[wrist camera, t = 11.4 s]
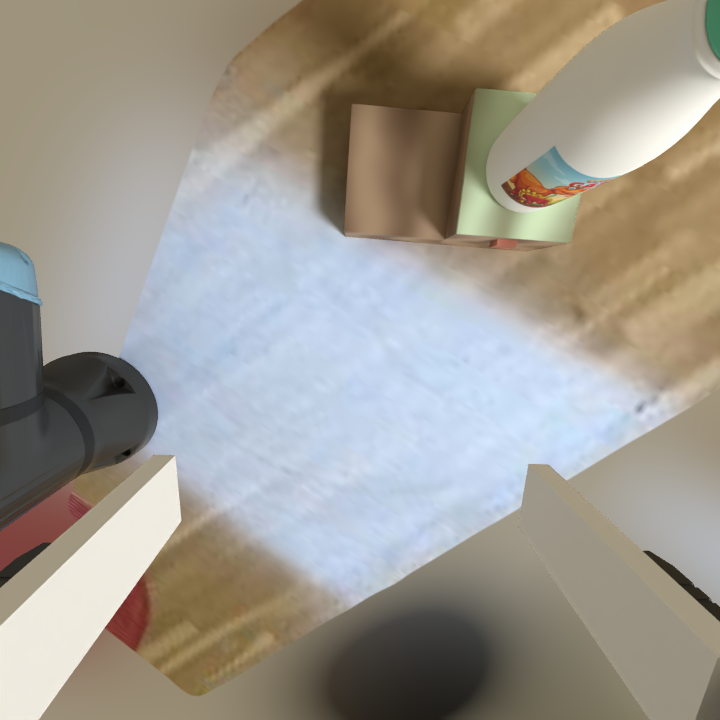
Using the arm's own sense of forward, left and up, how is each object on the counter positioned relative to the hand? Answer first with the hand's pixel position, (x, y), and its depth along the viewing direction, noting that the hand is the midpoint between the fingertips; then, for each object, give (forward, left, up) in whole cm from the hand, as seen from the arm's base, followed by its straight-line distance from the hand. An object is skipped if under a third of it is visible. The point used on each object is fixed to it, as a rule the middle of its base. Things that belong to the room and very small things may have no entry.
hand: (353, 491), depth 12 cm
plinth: (+9, +19, -31) cm, 37 cm away
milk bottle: (+14, +19, -23) cm, 33 cm away
